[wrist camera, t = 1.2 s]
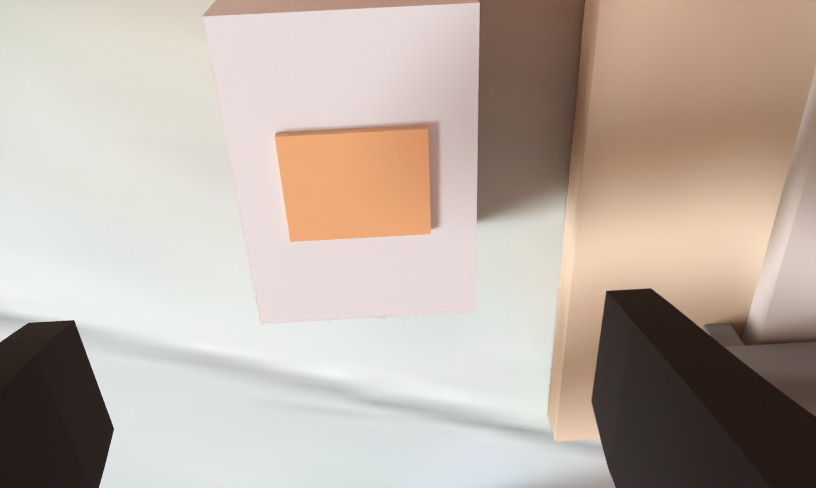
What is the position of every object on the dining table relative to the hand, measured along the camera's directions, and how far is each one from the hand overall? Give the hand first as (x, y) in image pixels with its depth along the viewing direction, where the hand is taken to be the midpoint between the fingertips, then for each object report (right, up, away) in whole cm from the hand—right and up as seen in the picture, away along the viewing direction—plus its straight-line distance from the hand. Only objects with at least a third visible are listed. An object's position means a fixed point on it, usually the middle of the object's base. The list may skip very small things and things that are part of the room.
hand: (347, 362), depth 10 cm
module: (0, +5, +8) cm, 10 cm away
